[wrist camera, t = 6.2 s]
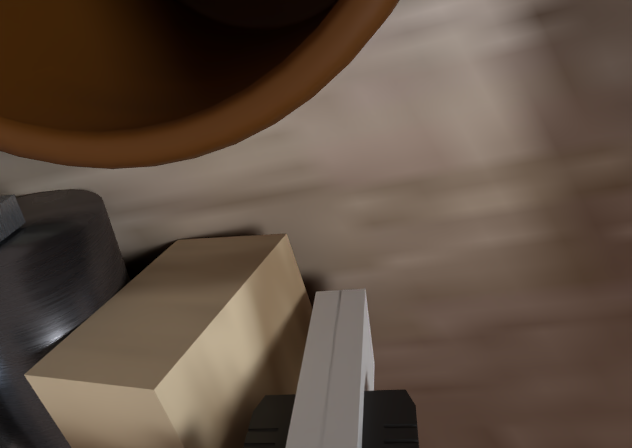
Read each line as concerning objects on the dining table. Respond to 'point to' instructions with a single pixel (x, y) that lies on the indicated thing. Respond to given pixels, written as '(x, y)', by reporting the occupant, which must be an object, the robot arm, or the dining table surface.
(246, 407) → the block
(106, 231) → the gray bench
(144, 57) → the mug
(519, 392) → the dining table surface
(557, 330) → the dining table surface
